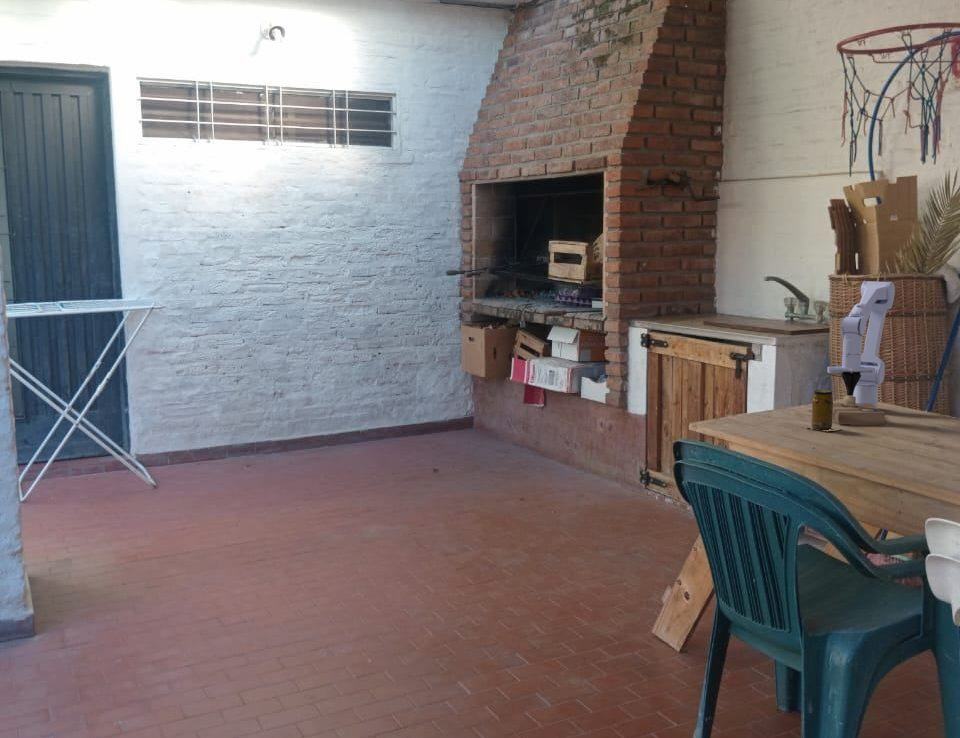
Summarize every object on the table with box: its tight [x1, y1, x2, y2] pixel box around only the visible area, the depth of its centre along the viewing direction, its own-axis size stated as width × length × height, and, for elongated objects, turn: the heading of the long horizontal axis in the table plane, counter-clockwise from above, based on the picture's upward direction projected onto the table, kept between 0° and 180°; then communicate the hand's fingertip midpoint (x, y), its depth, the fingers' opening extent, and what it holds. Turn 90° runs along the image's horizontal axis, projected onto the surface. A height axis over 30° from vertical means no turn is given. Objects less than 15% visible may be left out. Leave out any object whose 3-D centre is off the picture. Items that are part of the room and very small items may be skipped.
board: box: [832, 402, 886, 426], centre depth 323 cm, size 16×14×4 cm
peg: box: [843, 395, 856, 407], centre depth 326 cm, size 4×4×4 cm
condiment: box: [811, 389, 834, 433], centre depth 309 cm, size 7×8×12 cm
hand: (850, 395), depth 325 cm, fingers closed
